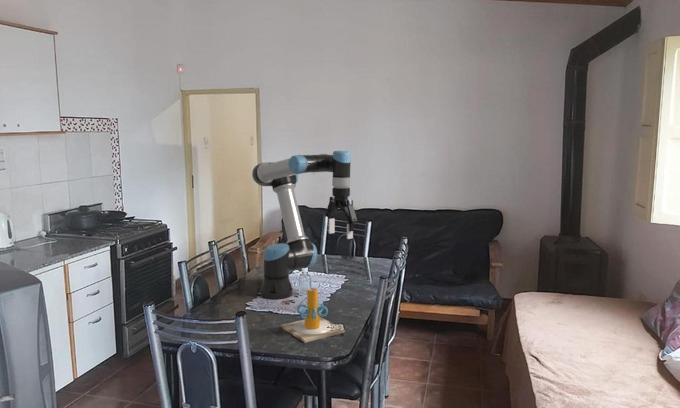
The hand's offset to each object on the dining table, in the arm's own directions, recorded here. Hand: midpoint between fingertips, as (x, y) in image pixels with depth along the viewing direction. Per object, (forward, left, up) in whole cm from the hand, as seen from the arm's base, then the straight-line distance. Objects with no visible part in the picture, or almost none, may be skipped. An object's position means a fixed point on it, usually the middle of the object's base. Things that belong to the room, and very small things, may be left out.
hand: (340, 235), depth 230 cm
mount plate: (+17, -25, -32) cm, 44 cm away
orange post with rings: (+17, -25, -31) cm, 43 cm away
